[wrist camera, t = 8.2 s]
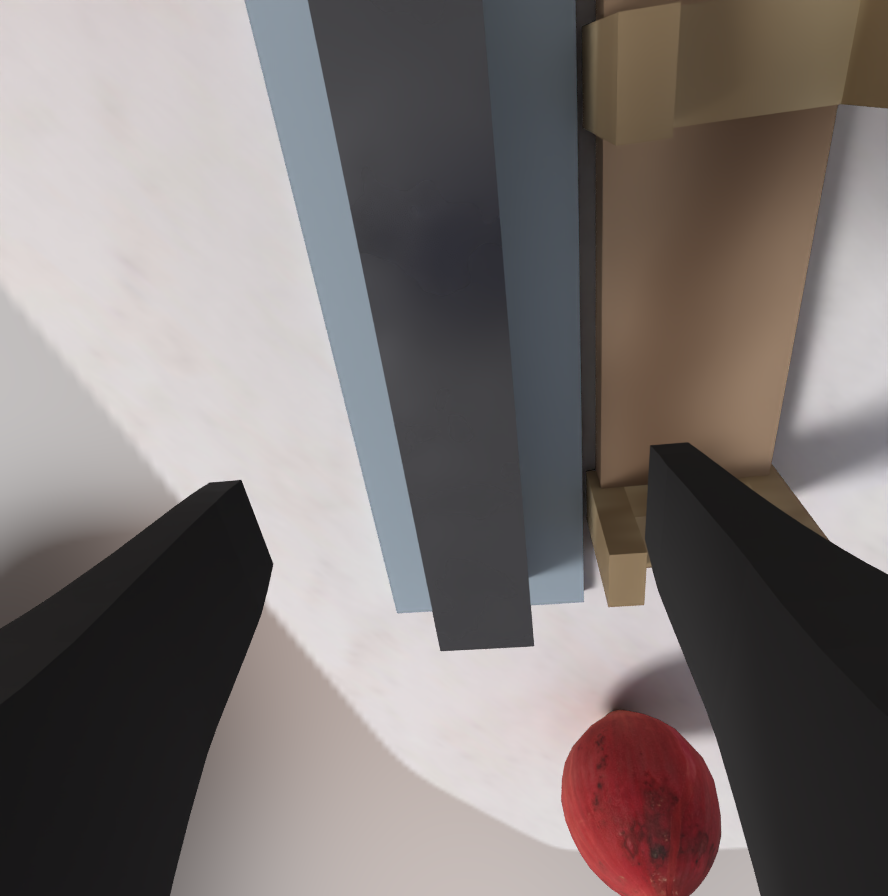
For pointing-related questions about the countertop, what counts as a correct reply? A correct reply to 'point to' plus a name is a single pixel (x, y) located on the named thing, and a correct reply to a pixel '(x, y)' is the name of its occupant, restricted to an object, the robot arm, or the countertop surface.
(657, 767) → the onion
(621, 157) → the rack
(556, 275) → the mat
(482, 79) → the rail
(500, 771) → the countertop surface
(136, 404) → the countertop surface
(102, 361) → the countertop surface
